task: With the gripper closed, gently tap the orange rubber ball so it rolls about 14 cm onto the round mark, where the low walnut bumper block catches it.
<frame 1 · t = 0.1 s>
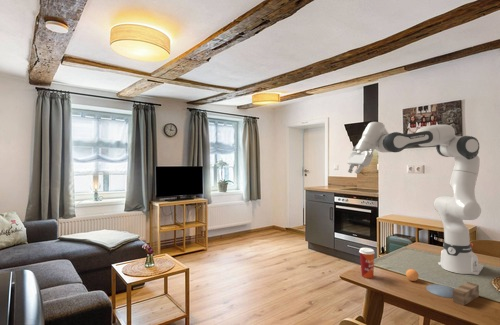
hand: (352, 172, 151), 54 cm above the table, tool tilted 30°, fingers open, 8 cm apart
paper cup: (367, 276, 149), on the table
bumper block: (466, 299, 122), on the table
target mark: (443, 291, 130), on the table
ball: (412, 274, 142), on the table
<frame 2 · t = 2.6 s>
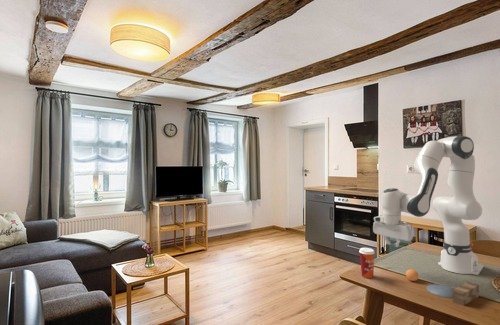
hand: (392, 245, 150), 15 cm above the table, tool pointing down, fingers open, 3 cm apart
nothing on the table moved.
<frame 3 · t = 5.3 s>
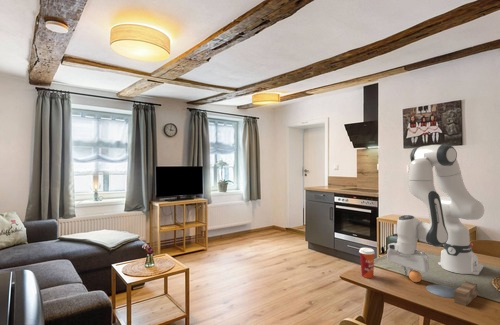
hand: (407, 275, 143), 2 cm above the table, tool pointing down, fingers closed
ball: (415, 276, 140), on the table
everything else where it was.
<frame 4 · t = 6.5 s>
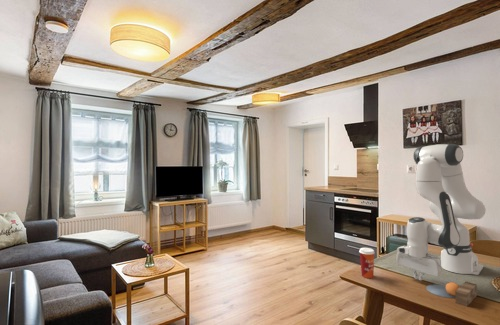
hand: (418, 279, 139), 2 cm above the table, tool pointing down, fingers closed
ball: (453, 289, 125), on the table
everything else where it was.
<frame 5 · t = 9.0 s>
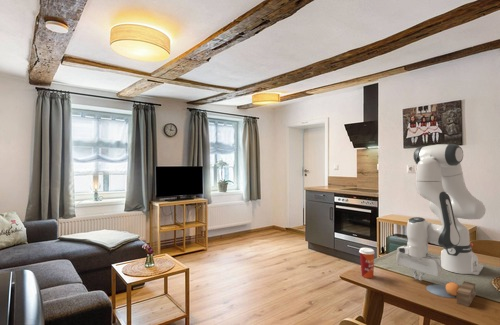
hand: (418, 279, 139), 2 cm above the table, tool pointing down, fingers closed
nothing on the table moved.
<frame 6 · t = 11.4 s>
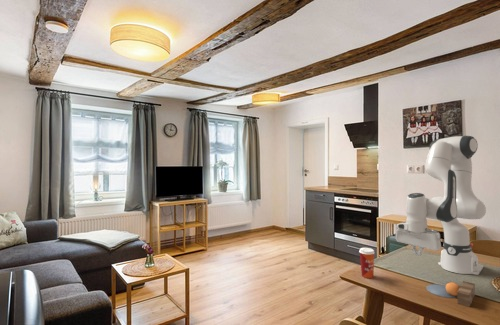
hand: (417, 254, 139), 14 cm above the table, tool pointing down, fingers closed
nothing on the table moved.
at the end: ball 4.5 cm from the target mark (horizontally); ball at rest at the end (0.0 cm/s); ball moved 18.4 cm from its start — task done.
